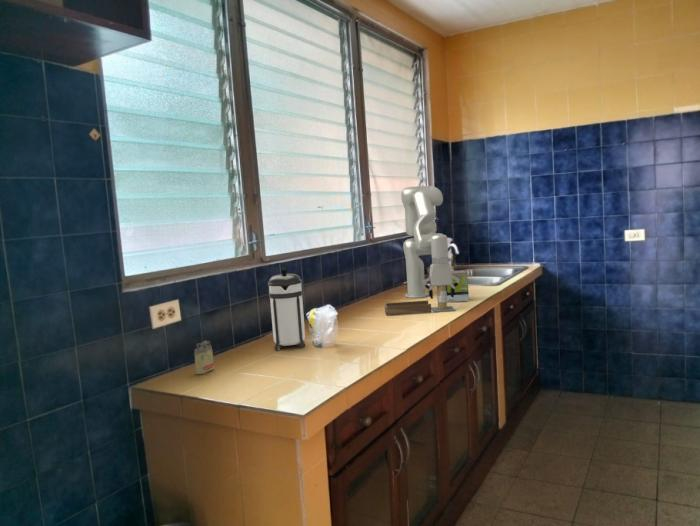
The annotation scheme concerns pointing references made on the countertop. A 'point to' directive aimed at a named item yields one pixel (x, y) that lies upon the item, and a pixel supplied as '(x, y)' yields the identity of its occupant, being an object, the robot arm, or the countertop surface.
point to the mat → (435, 309)
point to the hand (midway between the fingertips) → (442, 297)
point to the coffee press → (287, 309)
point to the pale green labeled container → (204, 358)
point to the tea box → (459, 287)
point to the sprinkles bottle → (442, 297)
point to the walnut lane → (407, 308)
